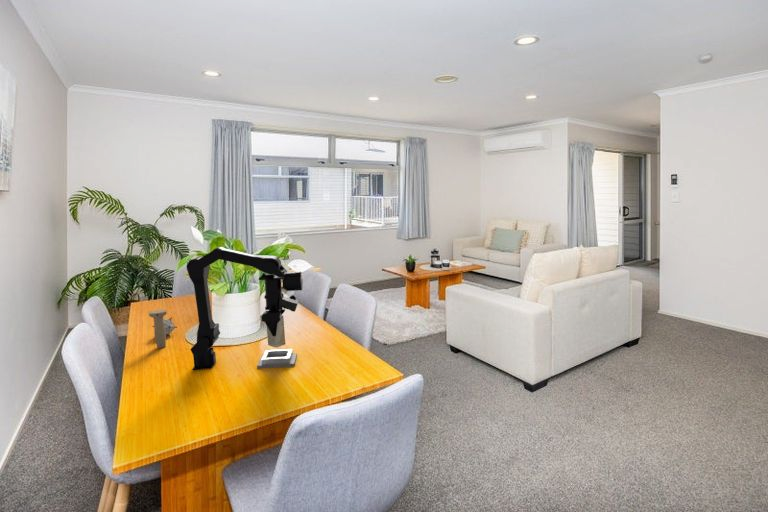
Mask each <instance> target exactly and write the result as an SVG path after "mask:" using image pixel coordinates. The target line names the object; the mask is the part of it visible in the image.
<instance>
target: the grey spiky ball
mask: <svg viewBox="0 0 768 512" xmlns="http://www.w3.org/2000/svg"><path fill="white" fill-rule="evenodd" d="M172 318H173V317H170V318H163V321H164V327H165V333H166V336H168V337H170V334H171V333H172V332H173V331H174V330H175V329H177V328H178V326H176V325H175V323H174V322H173V320H172ZM151 327H153V328H154V325H152V326H151Z"/></svg>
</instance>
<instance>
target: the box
mask: <svg viewBox="0 0 768 512" xmlns="http://www.w3.org/2000/svg"><path fill="white" fill-rule="evenodd" d="M281 317H282V318H281V320H280V321H279V322H278V325H277V333H276V336H272V334H271V332H270V330H269V328H268V327H267V326H266V336H267V346H269V347H273V348H279V347H282V346H285V345H286V336H285V335H286V334H285V319H284V318H285V317H284V315H283V314H282V315H281Z"/></svg>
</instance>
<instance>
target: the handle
mask: <svg viewBox="0 0 768 512" xmlns="http://www.w3.org/2000/svg"><path fill="white" fill-rule="evenodd" d="M167 313H168V311H167V309H157V310H152V311H149V312H148V316H149V317H150V318H153V326H154V327H153V328H154V329H153V330H154V334H153V335H154V340H155V344H156V348H157V349H163V348H165V347H166V342H167V335H166V333H165V327H164V321H163V319H164V316H166V315H167Z"/></svg>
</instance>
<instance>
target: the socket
mask: <svg viewBox="0 0 768 512" xmlns="http://www.w3.org/2000/svg"><path fill="white" fill-rule="evenodd" d="M297 356H298V353H297V352H294V353H293V348H286V349H269V350H268V349H267V350H264V353H263V354H262V355H261V356H260V359H259V361H258V363H257V366H256V368H257V369H269V368H270V369H272V368H285V367H295V365H296V362H297Z"/></svg>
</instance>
